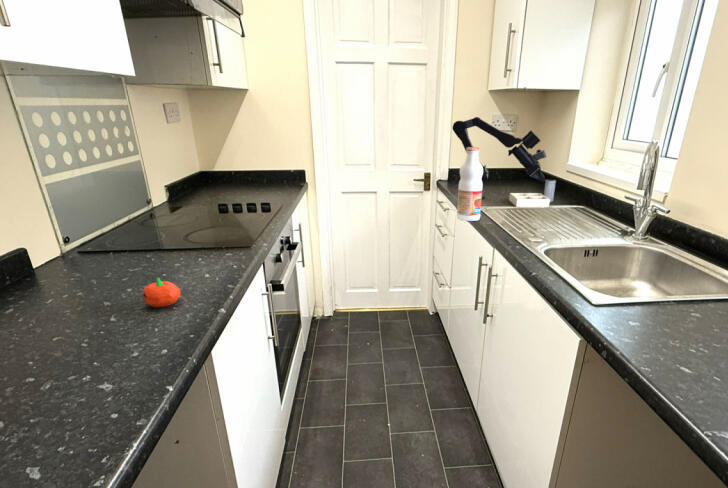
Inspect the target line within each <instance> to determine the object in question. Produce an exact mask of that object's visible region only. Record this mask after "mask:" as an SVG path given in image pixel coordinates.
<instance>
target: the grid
mask: <svg viewBox="0 0 728 488" xmlns="http://www.w3.org/2000/svg"><path fill="white" fill-rule="evenodd" d="M508 197H509V199H508V200H509V202H510V203H511V204H512V205H513V206H514V207H516V208H549V207H550V203H551V202H550V199H549V198H547V197H546V196H544V194H542V193H540V192H510V193H509V196H508Z"/></svg>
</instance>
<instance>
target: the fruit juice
mask: <svg viewBox="0 0 728 488" xmlns="http://www.w3.org/2000/svg"><path fill="white" fill-rule="evenodd" d="M465 152H467V153H466V157H465V160H464V162H463V163H462V165H461V166H460V168H459V176H460V179H459V181H458V191H457V208H456V218H457V220H459V221H463V222H477V221H479V220H480V219H481V211H482V200H483V198H482V196H483V193H482V185H483V184H482V180H481V178H482V175H483V167H482V166H483V165H482V166H481V164H482V163H481V161H480V159H479V153H480V147H477V146H473V147H467V149H466V150H465ZM479 161H480V162H479ZM480 163H481V164H480Z"/></svg>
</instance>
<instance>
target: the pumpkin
mask: <svg viewBox="0 0 728 488" xmlns="http://www.w3.org/2000/svg"><path fill="white" fill-rule="evenodd" d="M181 294H182V292H181V289H180V288H179V287H178V286H177V285H176V284H175V283H173V282H171V281H166V280H161V278H160V277H156V282H153V283H150V284H147V285H146V286H145V287H144V288H143V290H142V297H143V301H144V302H145V303H146V304H147V305H149V306H151V307H153V308H164V307H167V306H168V307H169V306H171V305H173V304H174V303H175V304H176V302H177V301H178V300H179V298H180V296H181Z"/></svg>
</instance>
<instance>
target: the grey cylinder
mask: <svg viewBox="0 0 728 488" xmlns="http://www.w3.org/2000/svg"><path fill="white" fill-rule="evenodd" d="M545 181H546V182H544V191H543V195H544V196H546V197H547V198H549V199H550V202H549V203H552V202H554V197H555V196H554V195H555V189H556V183H557V180H556V179H553V178H547V179H545Z"/></svg>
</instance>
